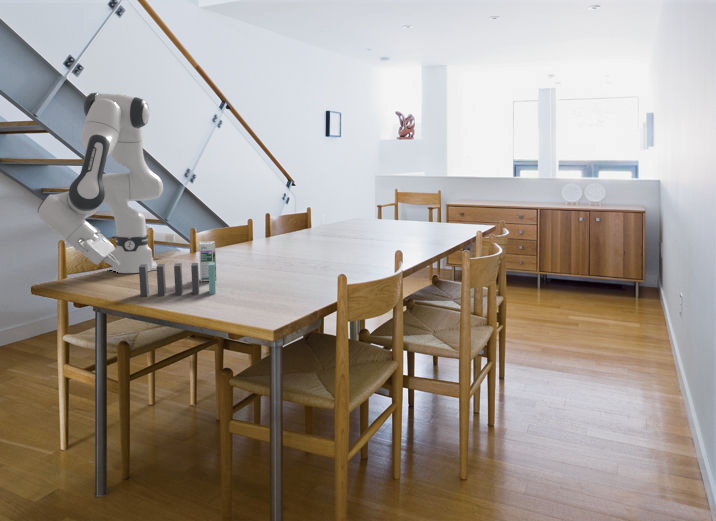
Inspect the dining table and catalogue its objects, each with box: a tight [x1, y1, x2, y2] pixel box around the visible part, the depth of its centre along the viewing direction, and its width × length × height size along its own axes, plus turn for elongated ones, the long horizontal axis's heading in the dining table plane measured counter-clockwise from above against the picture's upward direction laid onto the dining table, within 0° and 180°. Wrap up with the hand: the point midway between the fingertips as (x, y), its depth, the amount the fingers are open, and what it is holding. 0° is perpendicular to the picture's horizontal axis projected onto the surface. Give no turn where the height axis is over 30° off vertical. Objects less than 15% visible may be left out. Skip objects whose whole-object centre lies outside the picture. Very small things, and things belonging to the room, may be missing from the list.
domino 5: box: [208, 262, 217, 295], centre depth 196 cm, size 2×5×10 cm, turn 12°
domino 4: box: [190, 262, 200, 296], centre depth 194 cm, size 2×5×10 cm, turn 13°
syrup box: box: [198, 241, 217, 283], centre depth 214 cm, size 6×6×14 cm
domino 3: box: [173, 262, 184, 296], centre depth 193 cm, size 2×5×10 cm, turn 12°
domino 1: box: [138, 264, 150, 298], centre depth 191 cm, size 2×5×10 cm, turn 13°
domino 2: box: [156, 263, 167, 297], centre depth 192 cm, size 2×5×10 cm, turn 12°
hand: (118, 266), depth 188 cm, fingers closed
